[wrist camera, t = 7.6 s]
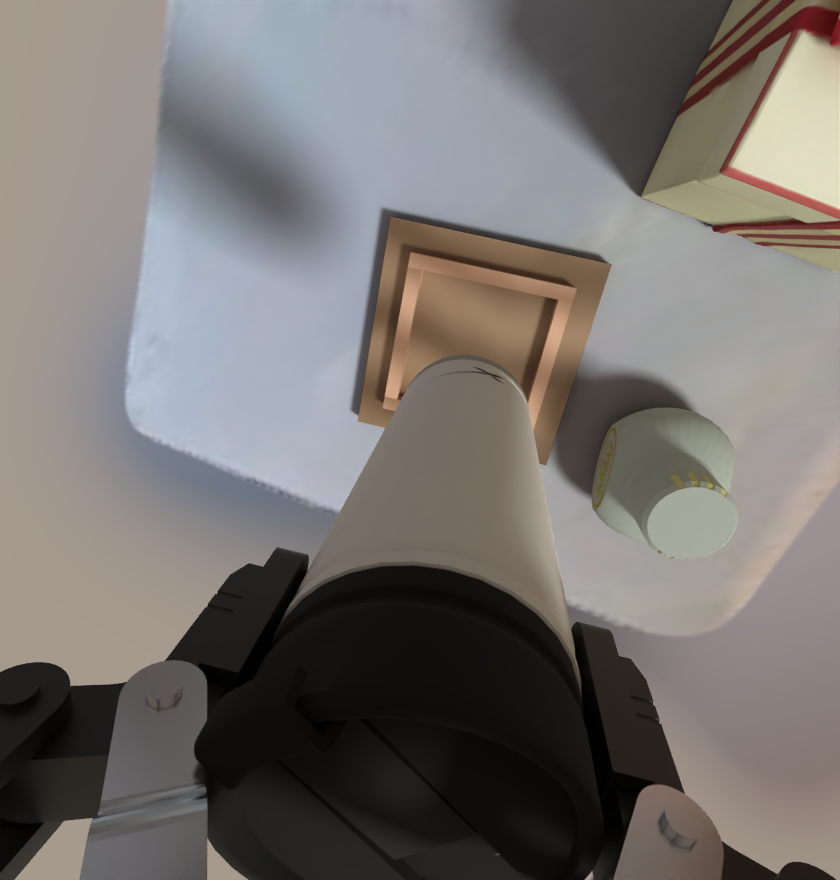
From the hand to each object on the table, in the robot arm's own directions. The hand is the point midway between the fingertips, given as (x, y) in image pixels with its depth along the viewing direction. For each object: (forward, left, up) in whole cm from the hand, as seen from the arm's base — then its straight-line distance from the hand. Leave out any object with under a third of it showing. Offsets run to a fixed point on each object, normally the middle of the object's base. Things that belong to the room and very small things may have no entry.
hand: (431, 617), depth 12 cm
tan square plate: (0, 0, -31) cm, 31 cm away
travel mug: (0, 0, -15) cm, 15 cm away
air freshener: (+6, +16, -32) cm, 36 cm away
